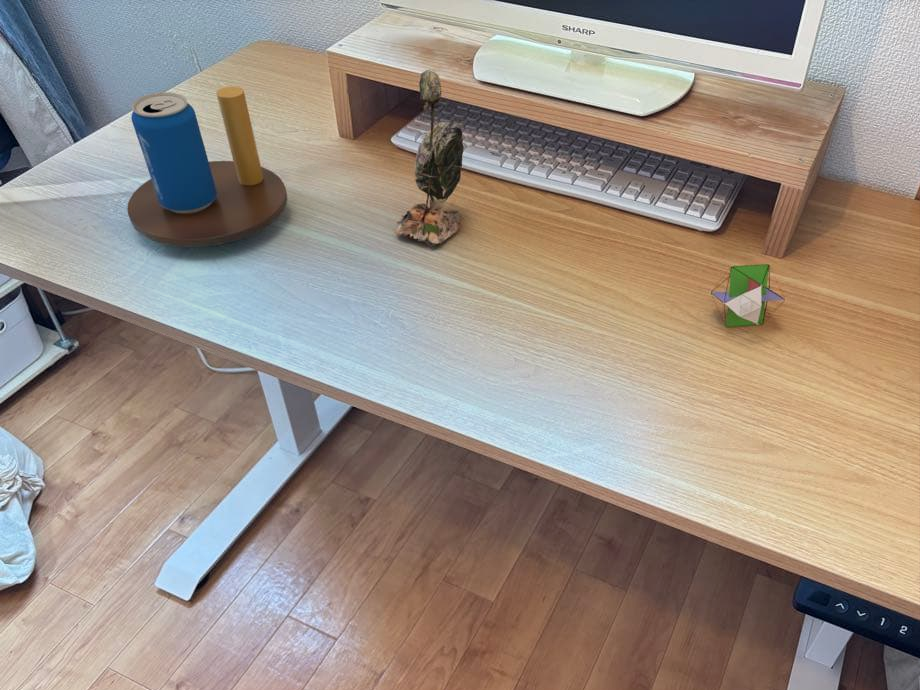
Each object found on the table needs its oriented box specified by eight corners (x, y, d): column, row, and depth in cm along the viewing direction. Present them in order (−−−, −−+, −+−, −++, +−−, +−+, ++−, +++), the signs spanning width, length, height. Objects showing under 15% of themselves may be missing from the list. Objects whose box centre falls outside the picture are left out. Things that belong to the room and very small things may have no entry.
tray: (100, 205, 94) (61, 107, 86) (231, 153, 104) (207, 61, 96) (185, 266, 86) (151, 165, 78) (318, 204, 96) (301, 108, 88)
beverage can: (150, 201, 93) (115, 102, 85) (199, 182, 97) (171, 85, 88) (179, 223, 90) (146, 122, 82) (229, 202, 94) (203, 104, 85)
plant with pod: (486, 213, 100) (485, 51, 86) (432, 256, 93) (421, 86, 79) (434, 194, 103) (425, 34, 88) (378, 233, 96) (358, 66, 81)
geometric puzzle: (700, 276, 88) (725, 252, 80) (759, 273, 89) (789, 249, 81) (707, 339, 87) (733, 321, 80) (767, 335, 88) (798, 317, 80)
